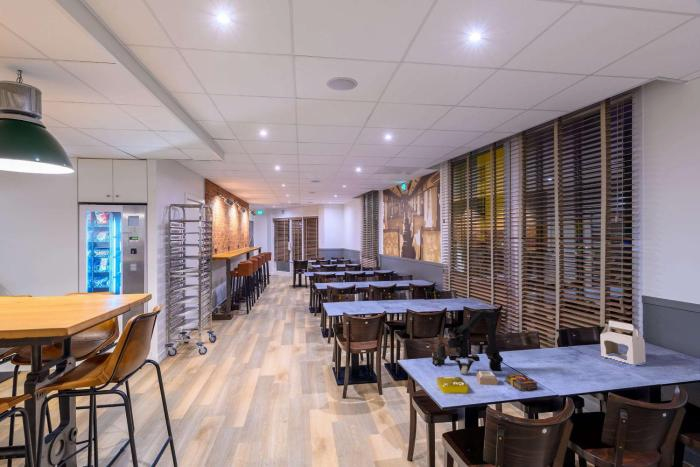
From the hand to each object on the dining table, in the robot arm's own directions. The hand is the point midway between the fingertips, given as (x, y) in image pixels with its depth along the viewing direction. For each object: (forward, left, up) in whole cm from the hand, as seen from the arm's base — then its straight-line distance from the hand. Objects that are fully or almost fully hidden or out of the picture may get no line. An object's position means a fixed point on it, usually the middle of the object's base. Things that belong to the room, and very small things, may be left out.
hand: (464, 370), depth 220 cm
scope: (+13, -18, -3) cm, 22 cm away
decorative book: (-30, +15, -3) cm, 34 cm away
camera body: (-11, +12, -2) cm, 16 cm away
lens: (0, 0, -2) cm, 2 cm away
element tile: (+12, +23, -3) cm, 26 cm away
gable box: (-120, -40, -3) cm, 127 cm away
